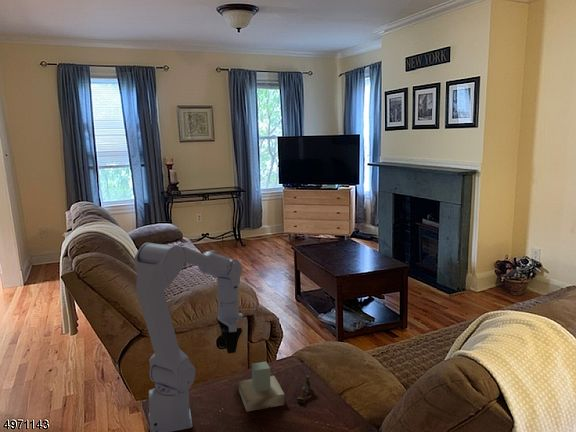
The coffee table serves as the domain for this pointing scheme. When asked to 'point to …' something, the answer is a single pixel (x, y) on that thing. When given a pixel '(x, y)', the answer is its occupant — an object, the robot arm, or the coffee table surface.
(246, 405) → the beige flat square block
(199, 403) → the coffee table surface
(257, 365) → the sage block
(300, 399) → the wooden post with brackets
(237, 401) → the coffee table surface
